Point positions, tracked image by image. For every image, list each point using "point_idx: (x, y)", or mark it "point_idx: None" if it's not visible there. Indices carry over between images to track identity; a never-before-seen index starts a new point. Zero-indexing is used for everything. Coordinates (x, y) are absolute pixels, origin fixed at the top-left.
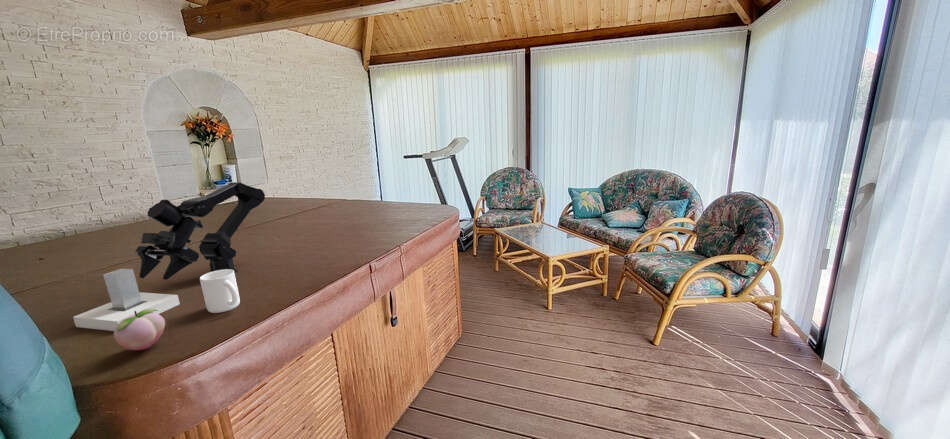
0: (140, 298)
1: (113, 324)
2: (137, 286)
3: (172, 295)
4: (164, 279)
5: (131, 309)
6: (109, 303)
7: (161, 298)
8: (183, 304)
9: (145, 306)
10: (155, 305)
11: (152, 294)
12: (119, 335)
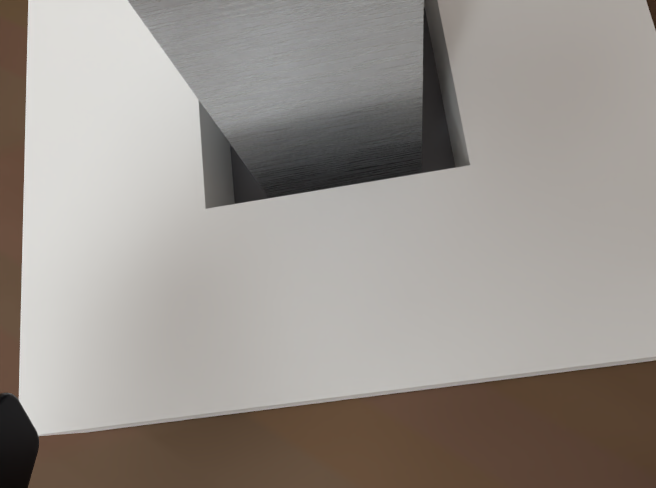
0: (229, 137)
1: None
2: (162, 45)
3: (74, 408)
4: (16, 414)
5: None
6: (622, 18)
7: (121, 303)
8: (44, 439)
9: (90, 120)
10: (30, 181)
11: (391, 352)
12: None
